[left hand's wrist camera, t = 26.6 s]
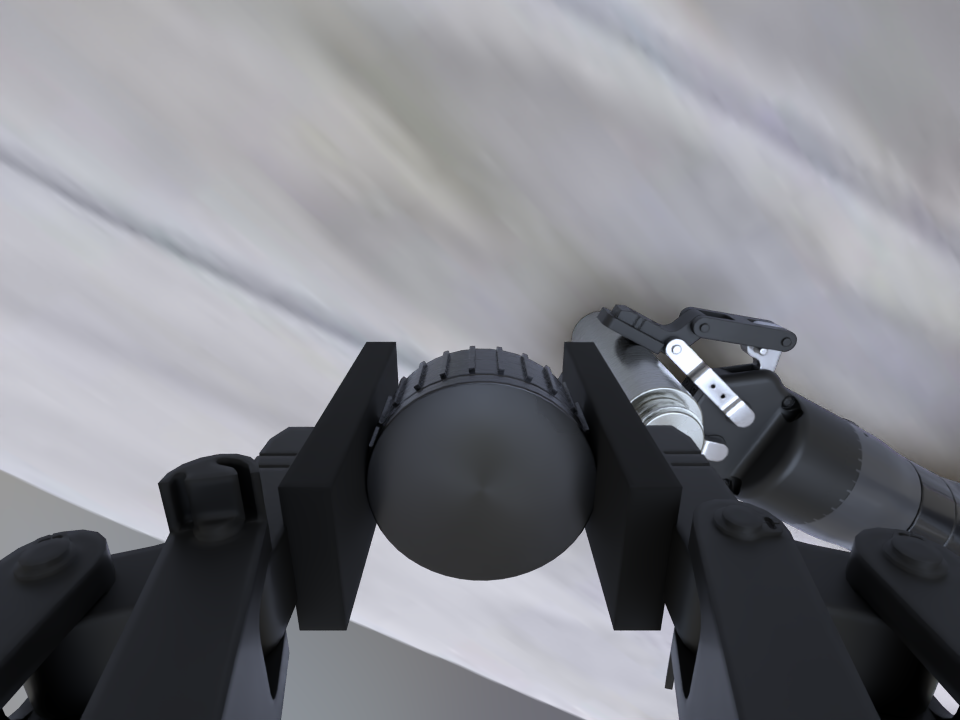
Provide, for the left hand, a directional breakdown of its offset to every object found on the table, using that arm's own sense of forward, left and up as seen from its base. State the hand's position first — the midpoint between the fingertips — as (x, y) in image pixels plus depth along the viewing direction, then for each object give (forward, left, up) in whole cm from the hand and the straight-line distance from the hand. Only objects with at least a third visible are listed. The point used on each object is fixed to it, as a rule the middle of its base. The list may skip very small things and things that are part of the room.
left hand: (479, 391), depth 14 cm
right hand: (+2, +7, -17) cm, 19 cm away
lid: (0, 0, +4) cm, 4 cm away
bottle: (+2, +10, -24) cm, 26 cm away
